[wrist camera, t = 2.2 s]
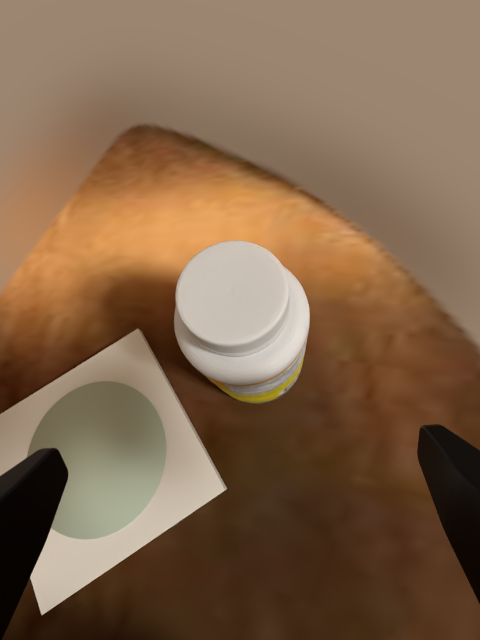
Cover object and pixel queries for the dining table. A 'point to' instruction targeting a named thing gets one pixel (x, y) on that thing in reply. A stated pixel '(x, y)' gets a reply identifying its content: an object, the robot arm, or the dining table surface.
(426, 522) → the dining table surface
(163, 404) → the card
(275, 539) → the dining table surface
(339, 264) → the dining table surface
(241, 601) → the dining table surface
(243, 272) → the supplement bottle
